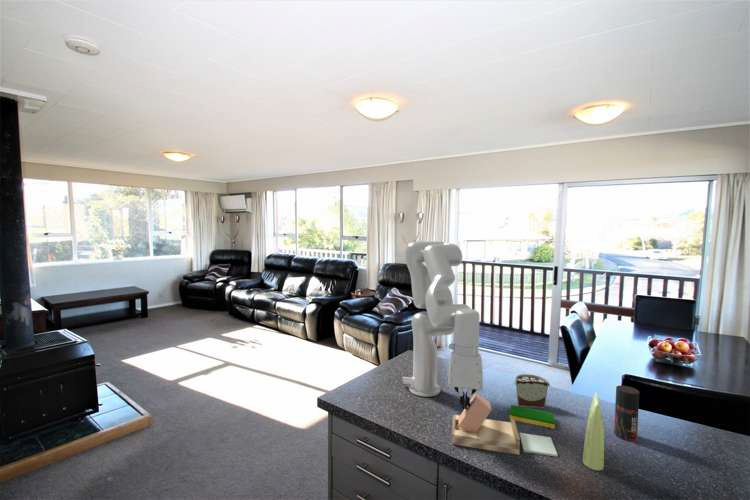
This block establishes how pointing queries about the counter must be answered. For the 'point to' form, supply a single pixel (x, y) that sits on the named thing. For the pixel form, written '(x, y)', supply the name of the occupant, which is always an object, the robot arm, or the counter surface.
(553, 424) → the dish sponge
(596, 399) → the tube
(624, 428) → the deodorant
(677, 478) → the counter surface
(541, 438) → the mat
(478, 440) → the open box
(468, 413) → the block
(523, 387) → the food container
